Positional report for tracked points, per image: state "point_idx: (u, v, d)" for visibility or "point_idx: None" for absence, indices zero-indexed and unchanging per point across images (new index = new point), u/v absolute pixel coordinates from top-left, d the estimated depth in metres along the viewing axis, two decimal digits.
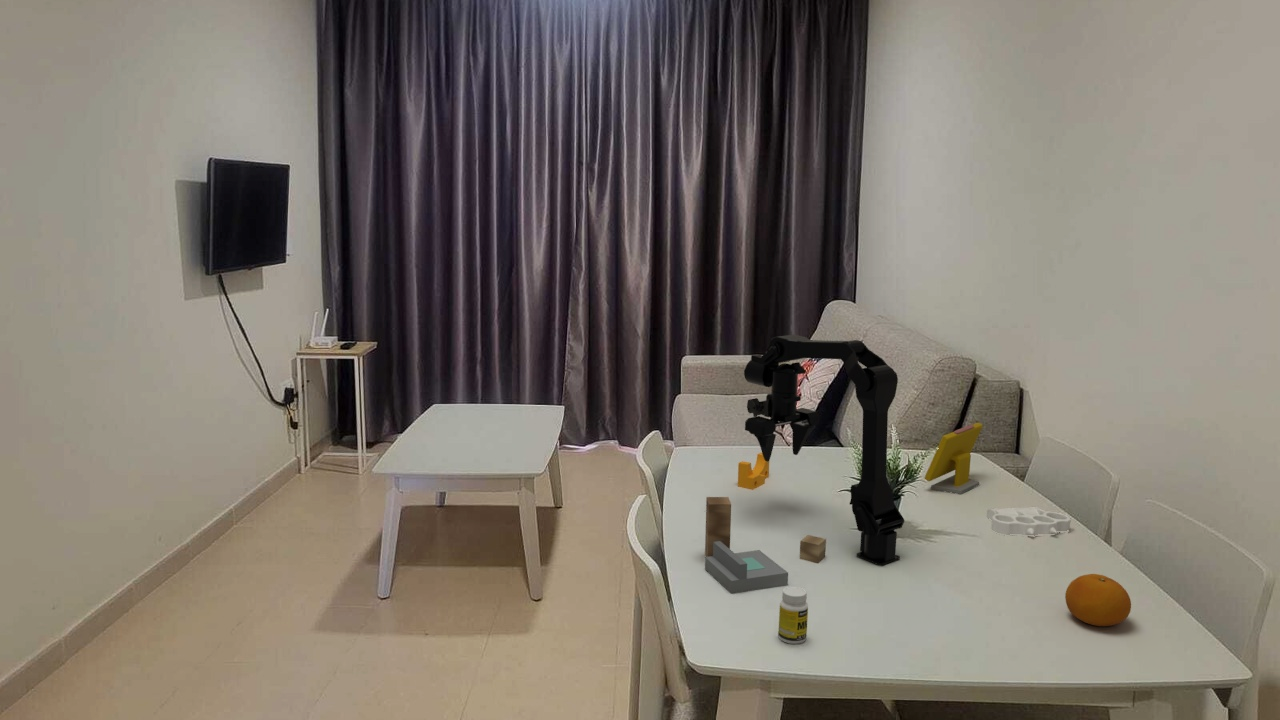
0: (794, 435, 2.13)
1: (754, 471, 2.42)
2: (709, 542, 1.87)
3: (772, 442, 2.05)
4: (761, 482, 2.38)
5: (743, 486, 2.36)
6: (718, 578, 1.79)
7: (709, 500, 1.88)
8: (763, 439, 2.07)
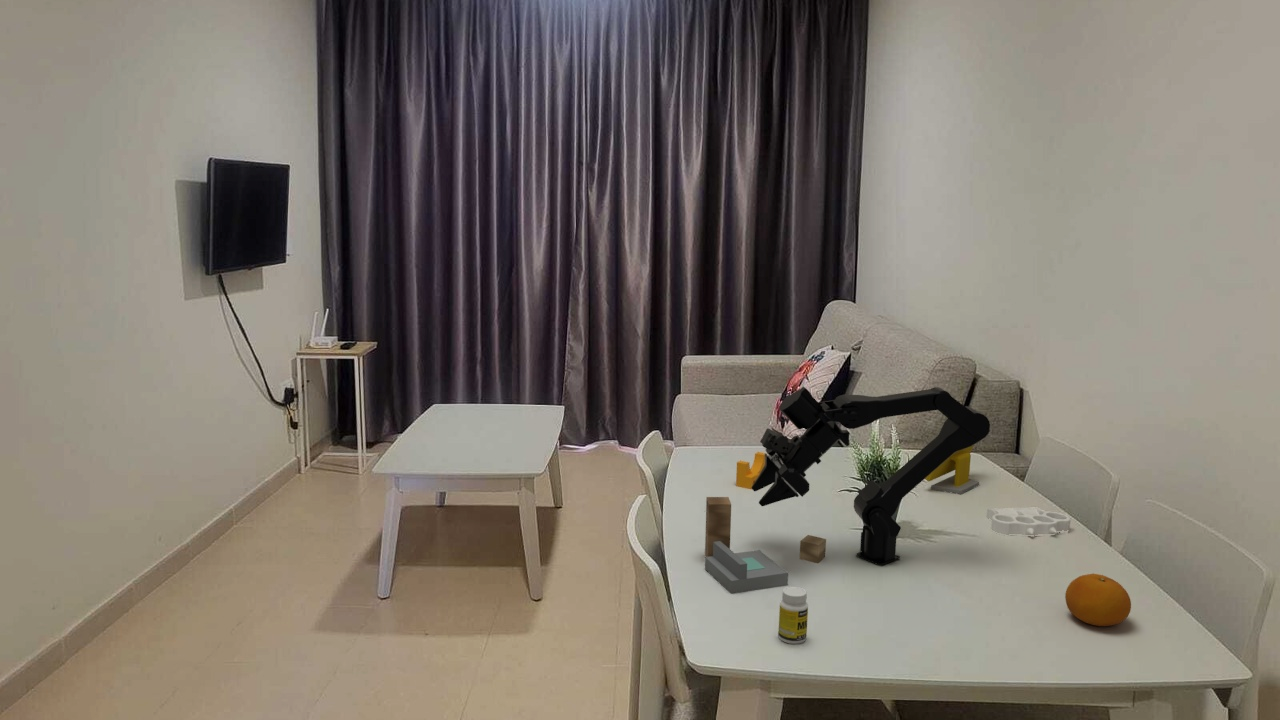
0: (765, 473, 1.92)
1: (752, 470, 2.42)
2: (709, 542, 1.87)
3: None
4: None
5: (741, 485, 2.36)
6: (718, 578, 1.79)
7: (709, 500, 1.88)
8: (779, 488, 1.82)
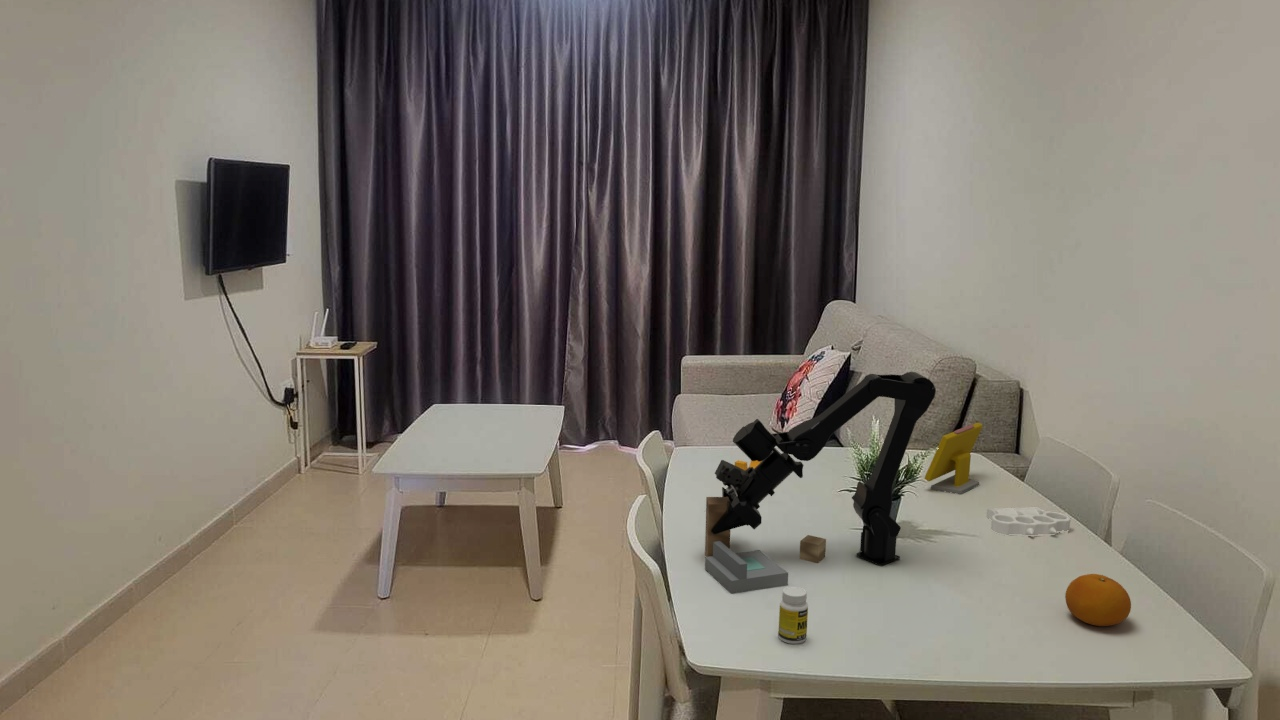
0: None
1: None
2: (709, 542, 1.87)
3: None
4: None
5: None
6: (718, 578, 1.79)
7: (709, 500, 1.88)
8: (731, 516, 1.85)
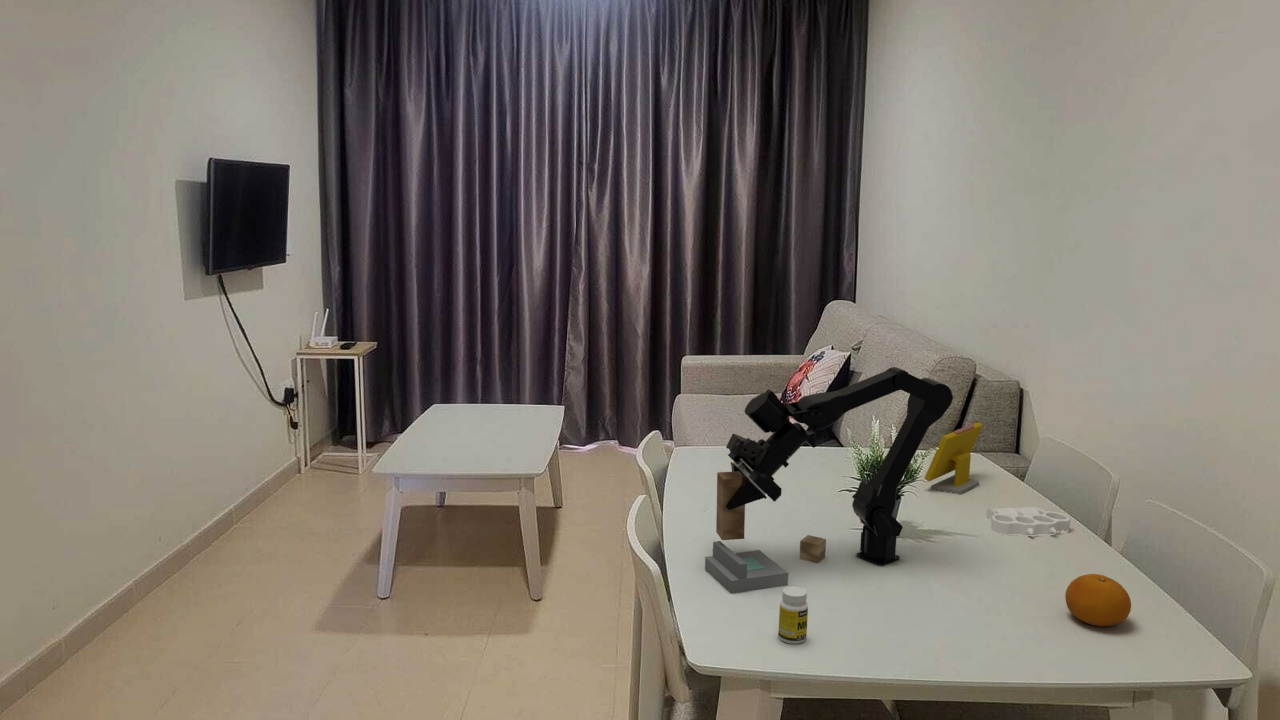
0: None
1: None
2: (724, 518, 1.81)
3: None
4: None
5: None
6: (718, 578, 1.79)
7: (722, 475, 1.82)
8: (747, 490, 1.79)
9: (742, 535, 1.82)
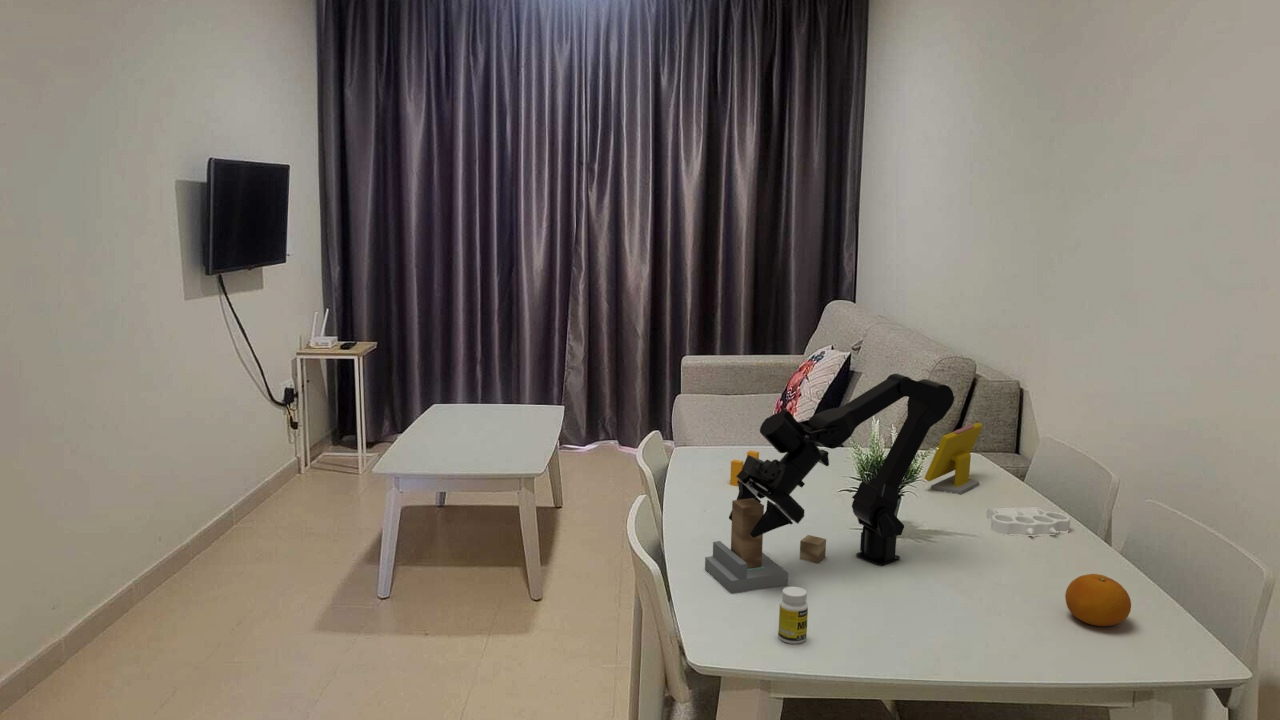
0: None
1: None
2: (742, 547, 1.77)
3: None
4: None
5: (736, 484, 2.37)
6: (718, 578, 1.79)
7: (739, 503, 1.78)
8: (771, 516, 1.74)
9: (760, 563, 1.79)
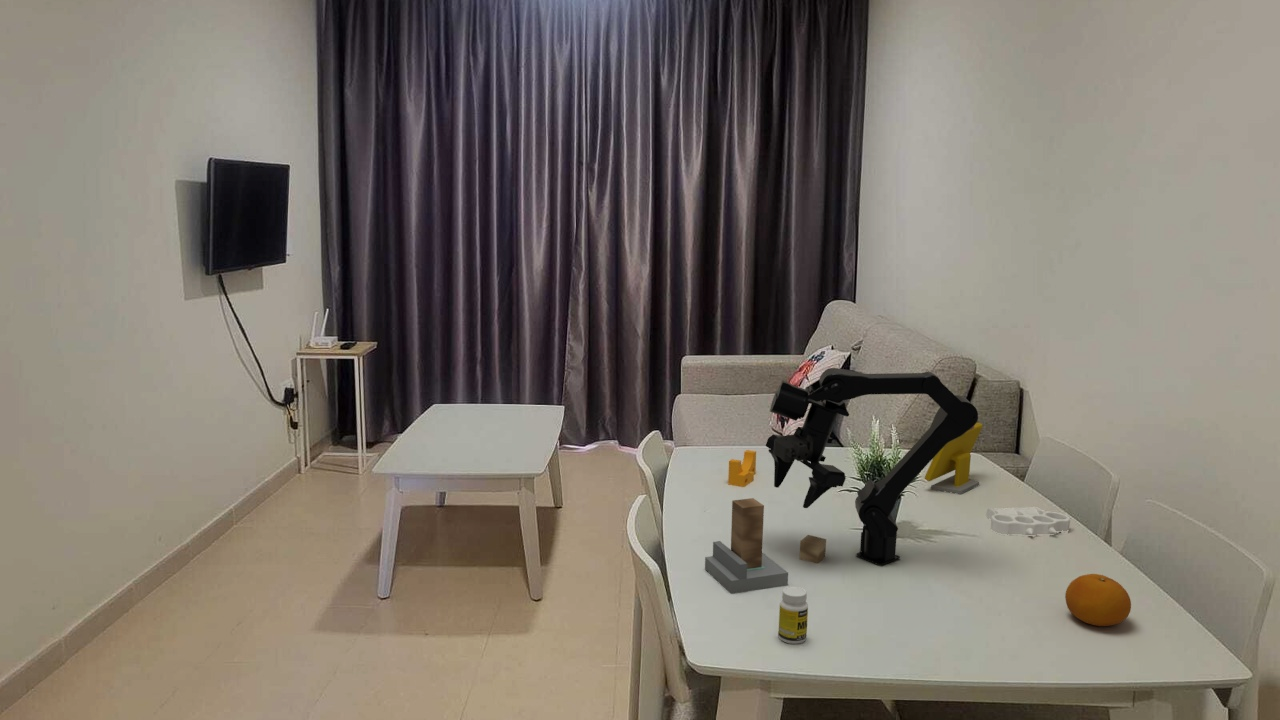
0: (780, 467, 1.94)
1: (742, 468, 2.44)
2: (742, 547, 1.77)
3: None
4: (750, 479, 2.40)
5: (734, 484, 2.37)
6: (718, 578, 1.79)
7: (739, 503, 1.78)
8: (817, 487, 1.85)
9: (759, 563, 1.79)
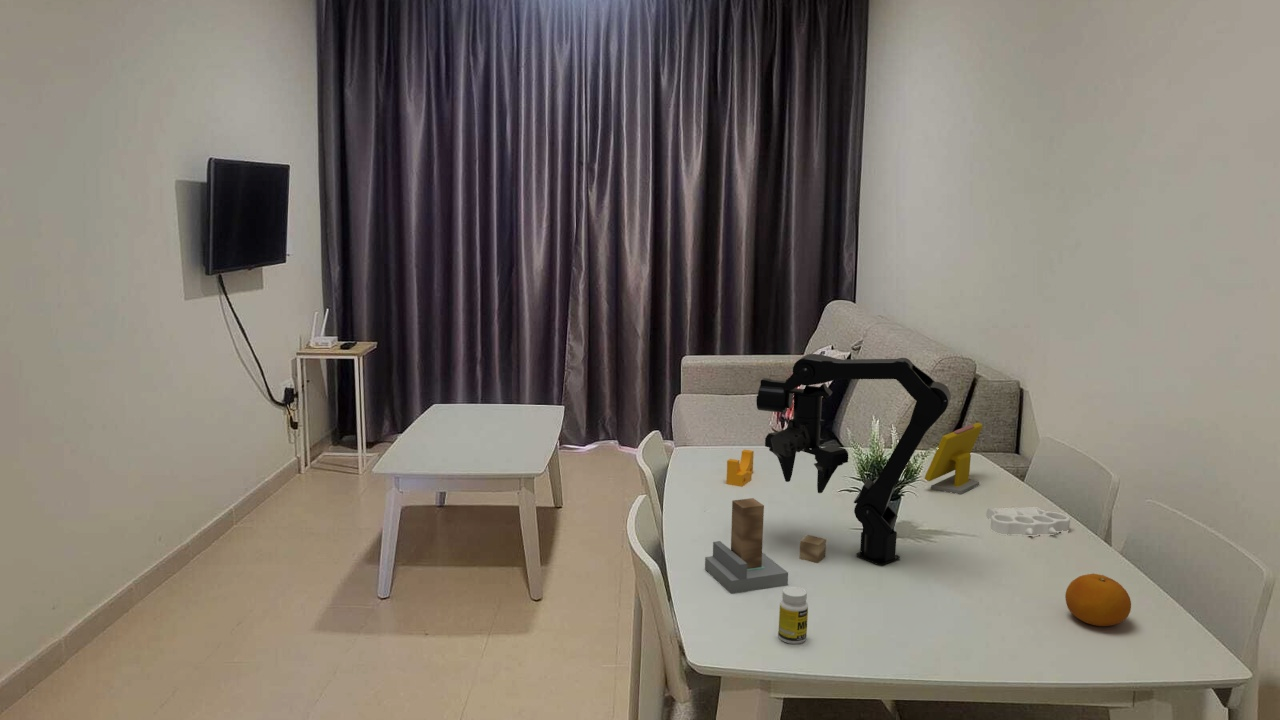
0: (785, 462, 1.98)
1: (740, 468, 2.44)
2: (742, 547, 1.77)
3: None
4: (748, 478, 2.40)
5: (732, 483, 2.38)
6: (718, 578, 1.79)
7: (739, 503, 1.78)
8: (824, 470, 1.90)
9: (759, 563, 1.79)
